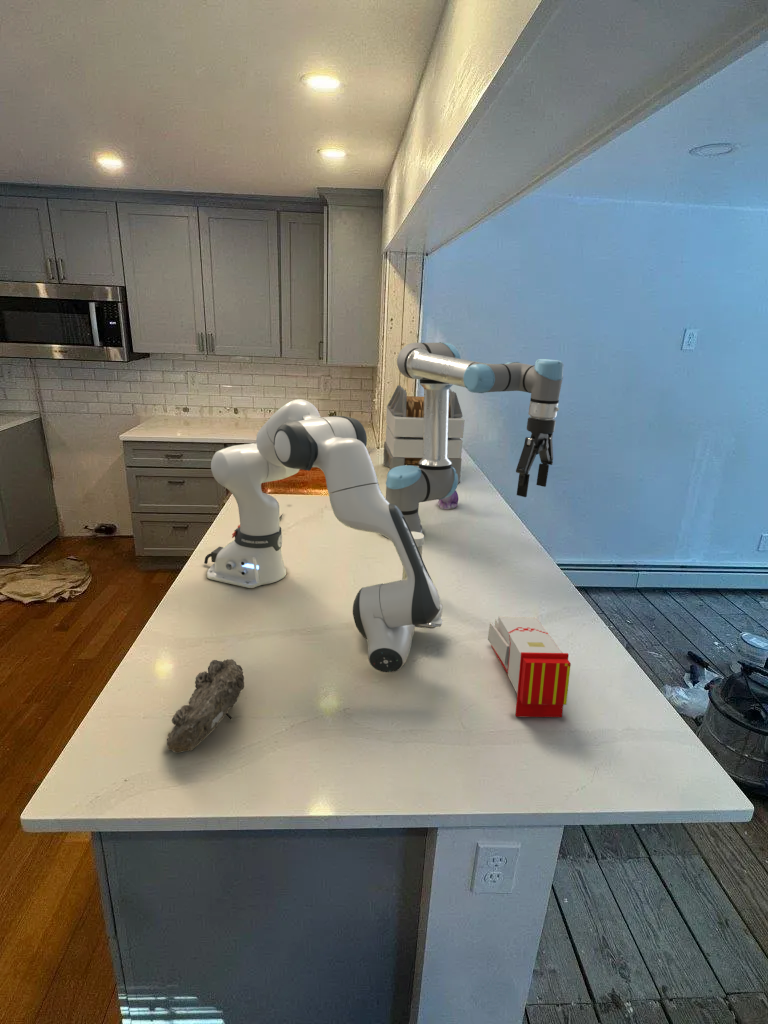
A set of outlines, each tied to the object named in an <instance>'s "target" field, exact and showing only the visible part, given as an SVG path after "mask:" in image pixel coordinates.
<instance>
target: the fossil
mask: <svg viewBox="0 0 768 1024" xmlns="http://www.w3.org/2000/svg"><path fill="white" fill-rule="evenodd" d="M243 670H244V669H243V667H242V665H240V664H237V662H236V661H235V660H234V659H232V658H231V659H227V658H226V659H224V660H223V661H222V660H217V659H212V660H211V661H210V663H209V665H208V666H207V671H201V672H199V673H198V674H197V675H196V676H195V680H194V684H195V685H194V687H195V689H194V690H193V693H192V694H191V697H190V698H189V700H188V704H184V705H182V706H181V707H180V709H177V710H176V711H175V713H174V715H173V716H172V718H171V723H172V724H173V727H172V730H171V731H170V732H168V734H167V738H166V741H167V742H166V745H167V749H168V750H169V751H173V752H174V753H176V754H178V753H182V752H188V751H189V752H192V751H193V750H195V748H196V747H197V746H199V744H200V743H201V742H203V741H204V740H205V739H206V738H207V737H208V736H209V735H210V734H211V733H212V732H214V730H215V729H217V727H218V726H219V724H220V722H221V721H222V720H223V719H224V718H225V716H226V717H227V719H229V720H233V717H232V715H230V714H229V710H230V709H231V708H234V706H235V704H236V703H237V702H238V699H239V697H240V695H241V693H242V691H243V690H245V689H244V688H245V675H244V671H243Z"/></svg>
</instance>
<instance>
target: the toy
mask: <svg viewBox="0 0 768 1024" xmlns="http://www.w3.org/2000/svg"><path fill="white" fill-rule="evenodd" d="M488 625H489V627H488V633H487V641H488V642H489V644H490V646H491V647H490V648H491V649H492V650H493V652H494V654H495V656H496V658H497V659H498V660H499V662H500V664H501V666H502V668H503V669H504V671H505V673H506V674H507V676H508V678H509V680H510V682H511V685H512V686H513V689H514V690H515V693H516V704H515V717H516V718H517V717H518V718H519V717H520V718H521V717H522V718H563V710H564V705H567V701H568V692H569V685H570V684H569V683H570V676H571V675H570V674H571V666H572V664H571V661H570V660H569V655H570V654H569V653H568V652H563V651H562V649H561V648H560V647H559V646H558V644H557V643H556V642H555V640H554V639H553V638H552V636H551V635H550V634H549V632H548V631H547V629H546V628H545V627H544V626H543V624H542V622H541V621H540V620H539V619H538V618H537V616H498V618H496V619H494V623H493V622H489V624H488Z"/></svg>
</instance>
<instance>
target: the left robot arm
mask: <svg viewBox="0 0 768 1024" xmlns="http://www.w3.org/2000/svg"><path fill="white" fill-rule="evenodd" d="M367 443H368V437H367V432H366V429H365V428H364V425H363V423H362V422H360V420H359V419H357V418H354V417H349V416H345V415H334V414H333V415H332V416H321V414H320V411H319V410H318V408H317V407H316V406H315V405H314V403H312V402H310V401H308V400H306V399H300V398H298V399H293V400H290V401H289V402H287V403H285V404H284V405H282V406H281V407H279V408H278V409H277V410H276V411H275V412H274V413H273V414H271V416H270V418H268V420H266V422H265V423H264V424H263V425H262V426H261V428H259V430H258V432H257V434H256V438H255V442H252V443H244V444H236V445H231V446H228V447H224V448H222V449H220V450H217V451H216V452H214V454H213V455H212V458H211V461H210V462H211V463H210V471H211V474H212V477H213V478H214V480H215V481H216V482H217V483H218V484H219V485H220V486H221V487H223V488H225V489H227V491H229V492H230V493H231V494H232V496H233V497H234V499H235V502H236V504H237V508H238V515H239V517H238V518H239V525H237V528H236V529H234V532H233V533H232V534H231V538H232V539H233V538H234V539H233V540H232V541H230V542H229V543H227V544H226V545H225V546H224V547H223V546H218V547H217V548H216V549H215V548H214V549H213V550H212V551H211V552H210V553H208V554H206V556H205V558H204V560H203V561H204V562H203V563H204V564H205V565H208V562H209V558H211V563H212V565H211V566H210V567H209V568H208V570H207V572H206V578H207V579H208V580H212V581H217V582H221V583H225V584H231V585H233V586H234V585H235V586H238V587H242V588H247V589H254V588H257V587H259V586H262V585H270V584H273V583H276V582H278V581H281V580H283V578H285V577H286V575H287V569H286V566H285V562H284V558H283V551H282V546H283V534H282V533H283V532H282V526H281V519H280V516H281V515H280V504H279V502H278V500H277V499H276V497H274V496H272V495H270V494H269V493H267V492H263V491H262V484H264V483H270V482H274V481H281V480H285V479H287V478H289V477H292V476H294V475H296V474H298V473H299V472H300V471H301V470H302V471H308V472H309V471H311V470H312V468H318V469H320V470H321V471H322V473H323V474H324V477H325V482H326V483H325V484H326V489H327V493H328V498H329V502H330V506H331V510H332V512H333V515H334V517H335V518H336V519H337V521H339V522H340V523H341V524H342V525H344V526H345V527H348V528H350V529H352V530H356V531H361V532H367V533H368V532H369V533H374V534H378V535H381V536H382V537H384V536H385V538H387V539H388V540H389V541H390V542H391V543H392V544H393V546H394V549H395V550H396V553H397V556H398V558H399V561H400V563H401V565H402V569H403V568H404V570H405V573H406V575H407V578H406V579H404V580H402V579H400V580H395V581H390V582H384V583H377V584H371V585H368V586H364V587H361V588H360V589H359V591H358V592H357V593H356V596H355V597H354V601H353V605H352V617H353V621H354V624H355V627H356V628H357V630H358V632H359V633H360V634H361V636H362V637H363V638H364V639H365V640H366V641H367V659H368V662H369V664H370V665H371V667H372V668H374V669H375V670H376V671H378V672H381V673H393V672H394V673H395V672H397V671H399V670H401V668H403V666H404V665H405V664H406V662H407V660H408V657H409V654H410V652H411V648H412V643H413V642H412V640H413V637H414V634H415V630H416V628H421V629H428V630H429V629H435V628H440V627H441V626H442V625H443V619H442V616H443V604H442V603H441V598H440V597H441V596H440V594H439V591H438V589H437V587H436V585H435V583H434V582H433V579H432V578H431V575H430V573H429V571H428V569H427V567H426V565H425V562H424V560H423V556H422V557H421V555H420V552H419V550H418V548H417V545H416V543H415V540H414V538H413V536H412V533H411V531H410V529H409V526H408V524H407V522H406V520H405V518H404V516H403V514H402V512H401V511H400V509H399V508H398V507H397V506H396V505H393V504H390V503H389V502H388V501H387V500H386V496H384V494H383V492H382V491H381V487H380V484H379V480H378V476H377V473H376V468H375V466H374V463H373V460H372V458H371V456H370V453H369V450H368V449H367V445H368V444H367Z"/></svg>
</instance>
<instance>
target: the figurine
mask: <svg viewBox="0 0 768 1024" xmlns="http://www.w3.org/2000/svg"><path fill="white" fill-rule="evenodd" d="M458 503H459V494H458V491H457V489H456V490H455V492H454V493H453V494H452V495H451V496H449V497H447V498H443V499H440V500H438V502H437V506H438V507H439V508H440V509H441V510H451V509H455V508H457V507H458Z"/></svg>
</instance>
